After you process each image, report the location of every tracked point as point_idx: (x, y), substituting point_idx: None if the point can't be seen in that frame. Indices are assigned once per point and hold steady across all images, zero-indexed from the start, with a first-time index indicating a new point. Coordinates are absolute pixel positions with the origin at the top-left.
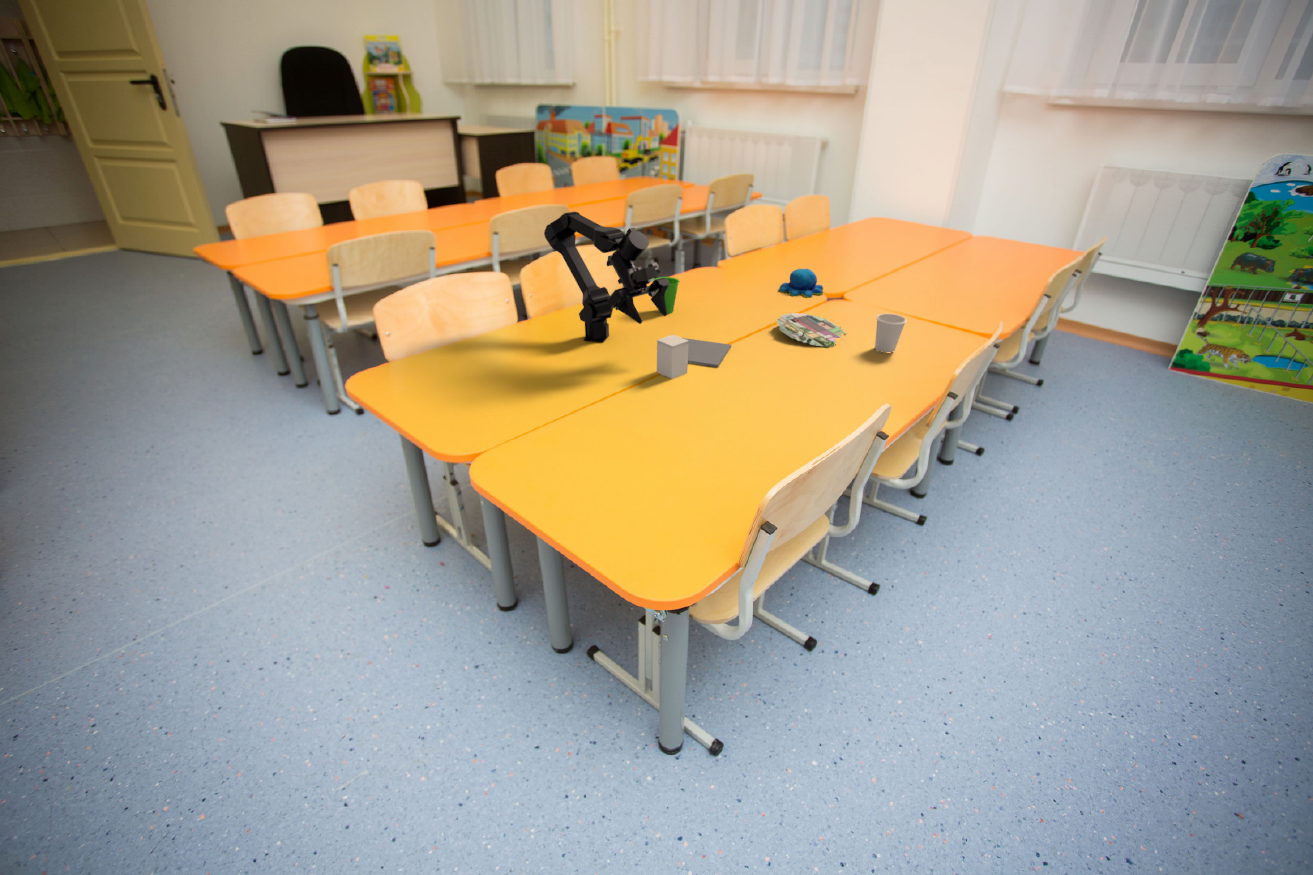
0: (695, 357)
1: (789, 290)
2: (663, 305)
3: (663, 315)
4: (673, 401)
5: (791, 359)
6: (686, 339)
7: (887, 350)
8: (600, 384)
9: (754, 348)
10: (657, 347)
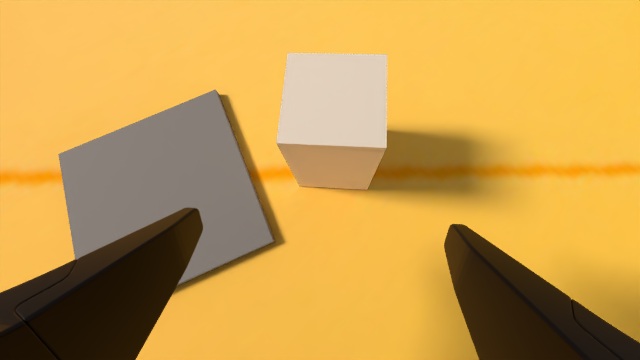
0: (211, 165)
1: None
2: (135, 246)
3: (199, 238)
4: (457, 44)
5: (67, 13)
6: None
7: None
8: (576, 253)
9: (43, 107)
10: (379, 159)
